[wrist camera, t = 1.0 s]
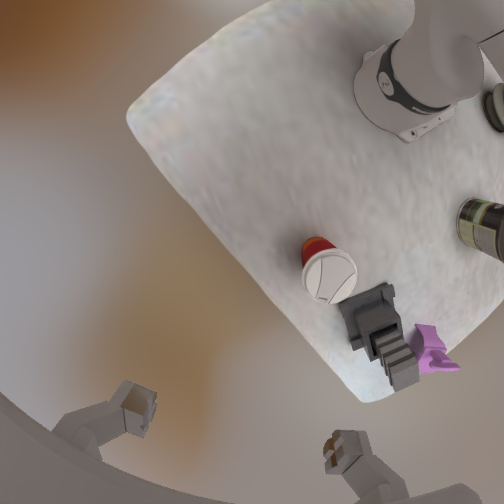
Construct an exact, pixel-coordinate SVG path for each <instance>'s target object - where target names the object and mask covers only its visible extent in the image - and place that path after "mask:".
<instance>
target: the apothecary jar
mask: <svg viewBox="0 0 504 504" xmlns="http://www.w3.org/2000/svg"><path fill="white" fill-rule="evenodd" d="M483 107H484V111H485V114H486V117H487V119H488V121H489V123H490V124H491V126H492V127H493V128H494V129H495V130H496V131H498V132H504V83H499V84H497V85H496V86H495V88H494V90H493V94H492V93H491V92H487V93H486V94H485V95H484V98H483Z"/></svg>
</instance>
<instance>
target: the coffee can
mask: <svg viewBox="0 0 504 504" xmlns="http://www.w3.org/2000/svg"><path fill="white" fill-rule="evenodd" d="M456 224H457V232H458V236H459V238H460V239H461V241H462V242H463V243H464V244H466V245H468V246H471V247H473V248H475V249H478V250H480V251H482V252H484V253H486V254H488V255H490V256H492V257H494V258H496V259H498V260H500V261H502V262H503V263H504V205H502V204H498V203H493V202H489V201H484V200H479V199H476V198H471V199H468V200H466V201H465V202H464V203H463V204H462V206H461V207H460V209H459V212H458V215H457V223H456Z"/></svg>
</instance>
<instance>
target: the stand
mask: <svg viewBox="0 0 504 504" xmlns="http://www.w3.org/2000/svg"><path fill="white" fill-rule="evenodd" d="M393 297H395V292H394V287H393V285H392V284H390V285H388V284H387V283H385V284H382V285H380V286H378V287H375V288H373V289H371V290H368V291H366V292H363V293H361V294H359V295H356V296H354V297H351V298H349V299H346V300H344V301H341V302H340V304H341V305H340V309H341V312H342V315H343V318H345V320H346V324H347V327H348V330H349V334H350V337H351V340H350V342H351V346H352V349H353V351H355V350H357V349H360V348H362V347H364V349H365V351H366V353H367V355H368V357H369V360H370V362H371V361H373V360H376V359H378V357H377V355H376V351H375V349H373V347H372V343H371V342H370V337H369V334H371V333H374V332H376V331H378V330H381V329H383V328H385V327H388V326H390V325H392V324H393V326H394V327H396V328H397V330H398V333H399V334H400V335H402V336H403V330H402V324H401V318H400V316H399V314H398V313H397V312H396V311H395V308H394V302H393ZM403 340H404V337H403Z"/></svg>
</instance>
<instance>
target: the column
mask: <svg viewBox="0 0 504 504" xmlns="http://www.w3.org/2000/svg"><path fill="white" fill-rule="evenodd" d="M369 337H370V342H371V343H372V347H373V349H375V351H376V355H377V357H378V358H379V359H380V363H381V366H383V367H384V370H385V374H386V376H388V378H389V381H390V385H391V386H393V389H394V391H395V392H397V391H399V390H401V389H404V388H406V387H408V386H410V385H412V384H414V383H416V382H418V381H419V363H418V361H417V360H416V358H415V354H414V353H412V352H411V350H410V349H409V345H408V344H407V343H405V342H404V340H403V336H402V335H400V334H399V333H398V330H397V328H396V327H394V326H393V324H392V325H390V326H388V327H385V328H383V329H381V330H378V331H376V332H374V333H371V334H369Z"/></svg>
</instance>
